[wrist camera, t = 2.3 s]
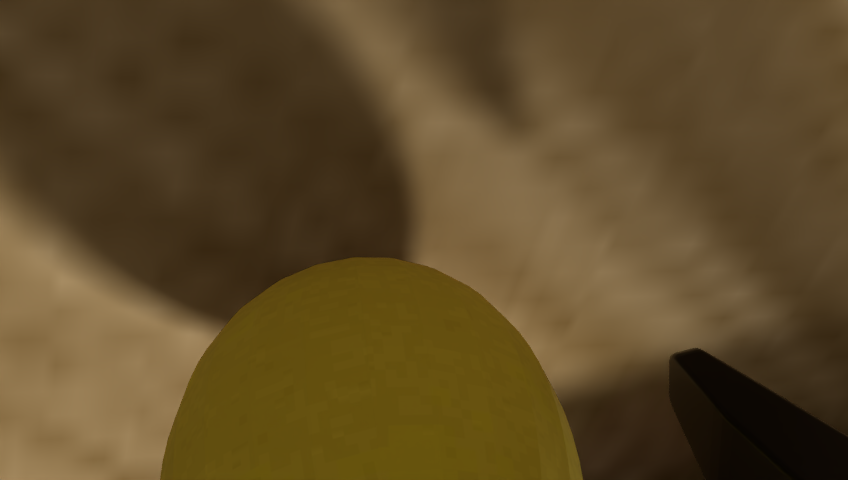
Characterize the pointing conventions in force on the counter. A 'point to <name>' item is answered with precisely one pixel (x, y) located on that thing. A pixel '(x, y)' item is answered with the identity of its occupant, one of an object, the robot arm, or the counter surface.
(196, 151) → the counter surface
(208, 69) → the counter surface
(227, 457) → the lemon
